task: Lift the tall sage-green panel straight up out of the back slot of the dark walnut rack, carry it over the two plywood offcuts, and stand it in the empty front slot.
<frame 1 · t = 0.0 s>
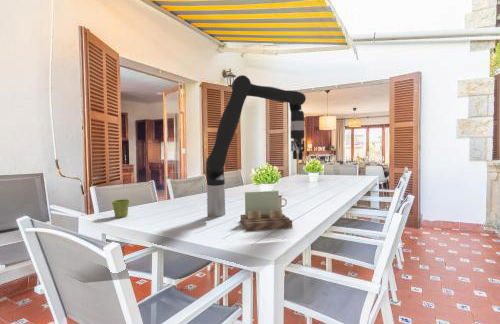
hand: (297, 159, 164), 29 cm above the table, tool pointing down, fingers open, 8 cm apart
teacup with lid: (276, 210, 171), on the table
offcut right: (275, 223, 137), point 1 cm above the table, touching rack
panel: (262, 220, 142), point 1 cm above the table, touching rack
plant pot: (121, 217, 162), on the table
rack: (265, 227, 136), on the table
offcut left: (254, 224, 135), point 1 cm above the table, touching rack
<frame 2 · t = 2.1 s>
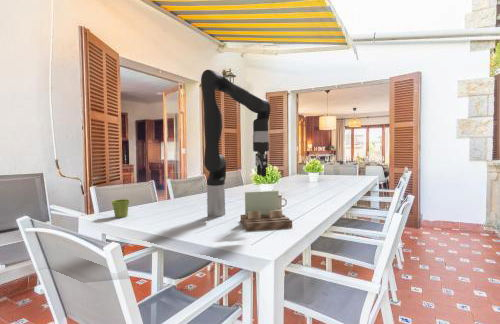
hand: (261, 175, 141), 23 cm above the table, tool pointing down, fingers open, 8 cm apart
nothing on the table moved.
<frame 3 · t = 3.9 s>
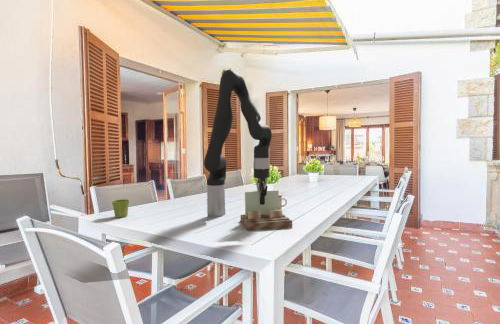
hand: (261, 204, 141), 9 cm above the table, tool pointing down, fingers closed on panel, 1 cm apart
panel: (262, 220, 142), point 2 cm above the table, touching gripper
everything else where it was.
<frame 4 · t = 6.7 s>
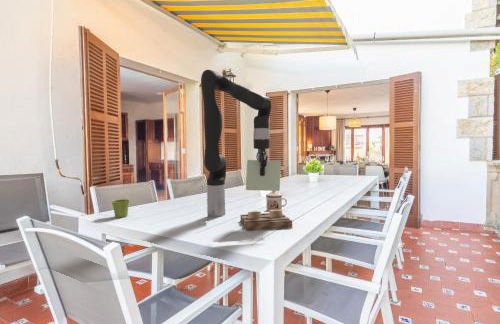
hand: (262, 175, 140), 23 cm above the table, tool pointing down, fingers closed on panel, 1 cm apart
panel: (262, 190, 140), point 16 cm above the table, touching gripper
everything else where it was.
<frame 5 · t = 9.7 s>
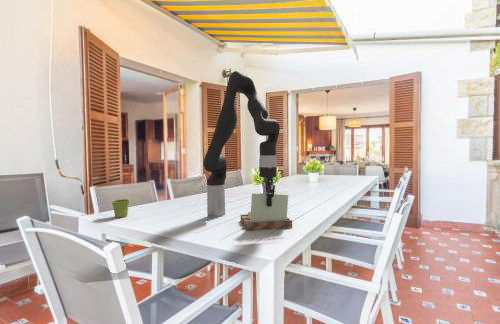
hand: (268, 205, 130), 11 cm above the table, tool pointing down, fingers closed
panel: (268, 225, 130), point 2 cm above the table, touching rack
everything else where it was.
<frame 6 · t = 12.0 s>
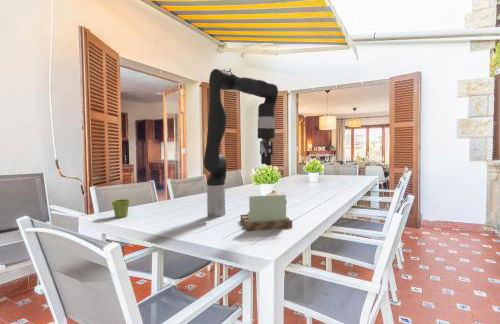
hand: (265, 164, 132), 29 cm above the table, tool pointing down, fingers open, 8 cm apart
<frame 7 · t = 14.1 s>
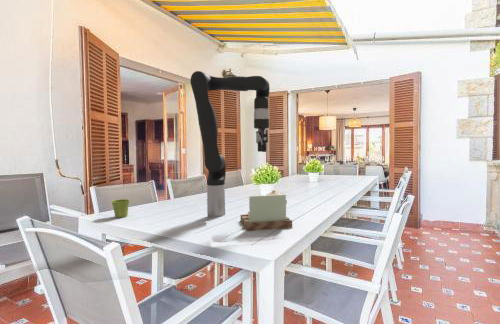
hand: (261, 151, 147), 34 cm above the table, tool pointing down, fingers open, 8 cm apart
nothing on the table moved.
at the end: panel 0.2 cm from the target spot on the rack, point 1.5 cm above the rack's base; panel tilted 0°; the gripper is holding nothing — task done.
